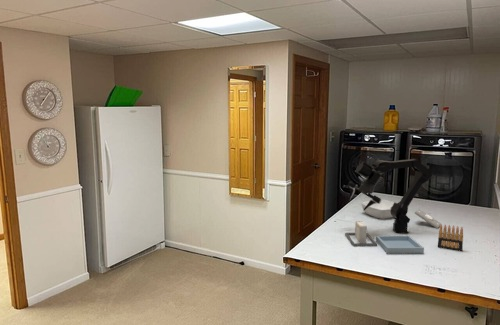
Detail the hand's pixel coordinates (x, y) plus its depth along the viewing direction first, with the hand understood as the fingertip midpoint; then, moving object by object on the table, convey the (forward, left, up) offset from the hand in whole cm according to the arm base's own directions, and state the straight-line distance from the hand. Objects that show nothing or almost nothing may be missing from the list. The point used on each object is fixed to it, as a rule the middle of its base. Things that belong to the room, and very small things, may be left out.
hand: (356, 205), depth 203 cm
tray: (-16, +21, -16) cm, 30 cm away
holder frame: (0, +11, -16) cm, 19 cm away
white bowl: (-26, -35, -16) cm, 47 cm away
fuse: (0, +11, -16) cm, 19 cm away
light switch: (-46, -15, -16) cm, 51 cm away
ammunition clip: (-40, +23, -16) cm, 49 cm away
